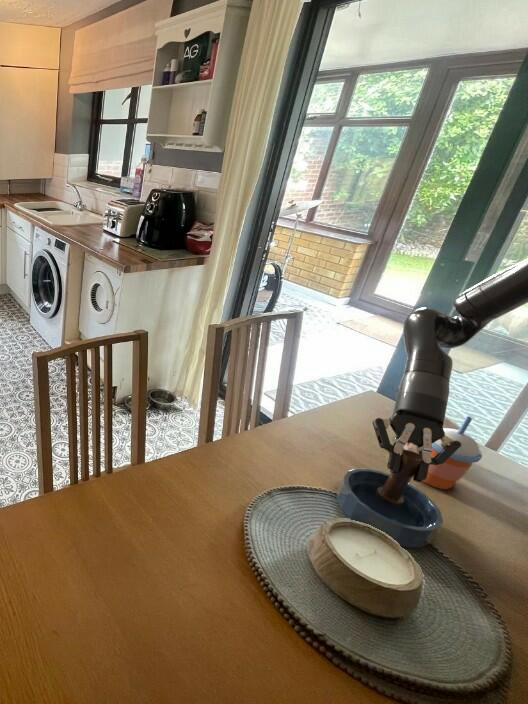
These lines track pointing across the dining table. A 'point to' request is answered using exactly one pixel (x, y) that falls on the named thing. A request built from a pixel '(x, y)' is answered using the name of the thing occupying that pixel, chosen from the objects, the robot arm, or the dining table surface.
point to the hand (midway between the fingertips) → (405, 476)
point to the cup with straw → (453, 458)
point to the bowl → (389, 508)
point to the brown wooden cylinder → (399, 479)
